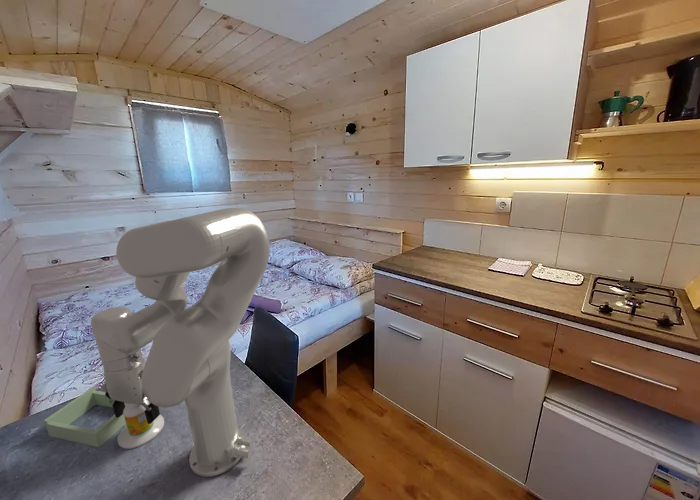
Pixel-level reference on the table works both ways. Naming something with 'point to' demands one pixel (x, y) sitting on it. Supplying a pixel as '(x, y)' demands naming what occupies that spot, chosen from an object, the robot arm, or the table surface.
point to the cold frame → (73, 410)
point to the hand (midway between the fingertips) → (138, 416)
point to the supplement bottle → (136, 419)
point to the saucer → (134, 442)
